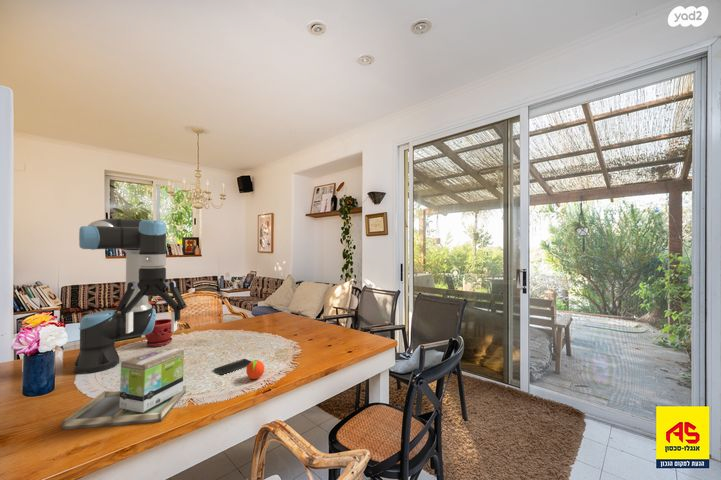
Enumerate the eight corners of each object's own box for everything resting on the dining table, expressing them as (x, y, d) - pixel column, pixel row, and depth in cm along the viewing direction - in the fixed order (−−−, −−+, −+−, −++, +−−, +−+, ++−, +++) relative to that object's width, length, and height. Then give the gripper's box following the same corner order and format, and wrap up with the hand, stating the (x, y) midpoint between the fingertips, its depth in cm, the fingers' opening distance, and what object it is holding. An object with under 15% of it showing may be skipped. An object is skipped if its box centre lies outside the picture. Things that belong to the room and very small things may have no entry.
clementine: (262, 382, 120) (262, 364, 120) (244, 384, 119) (244, 365, 119) (265, 374, 128) (265, 356, 128) (248, 375, 127) (248, 357, 127)
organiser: (61, 429, 90) (61, 421, 90) (104, 397, 108) (104, 391, 108) (161, 421, 94) (161, 413, 94) (185, 392, 113) (185, 385, 113)
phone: (212, 369, 131) (244, 358, 143) (212, 371, 131) (244, 360, 143) (222, 374, 126) (254, 362, 138) (222, 376, 126) (254, 365, 138)
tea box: (143, 413, 94) (144, 364, 94) (118, 409, 97) (119, 361, 97) (184, 391, 109) (184, 348, 109) (161, 387, 111) (161, 345, 111)
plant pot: (157, 339, 172) (157, 318, 173) (178, 341, 171) (178, 319, 171) (137, 347, 160) (137, 324, 160) (160, 349, 158) (160, 325, 158)
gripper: (103, 268, 97) (102, 336, 97) (188, 267, 101) (188, 333, 101) (117, 266, 105) (117, 329, 105) (197, 265, 109) (196, 326, 109)
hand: (152, 331), depth 103 cm, fingers open, 13 cm apart
